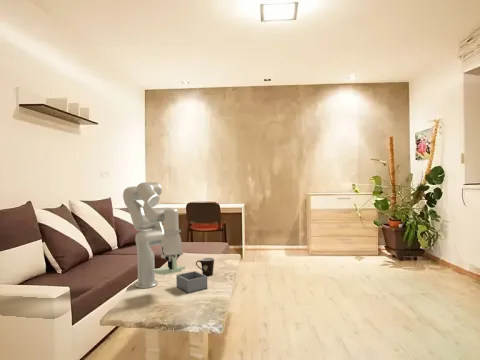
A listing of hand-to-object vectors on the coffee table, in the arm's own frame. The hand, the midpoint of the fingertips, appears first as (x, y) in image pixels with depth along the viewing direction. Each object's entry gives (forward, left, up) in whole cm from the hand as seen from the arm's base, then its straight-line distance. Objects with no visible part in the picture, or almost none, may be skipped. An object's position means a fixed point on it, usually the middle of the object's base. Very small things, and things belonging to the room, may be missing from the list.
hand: (172, 268), depth 170 cm
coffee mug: (-25, +35, -16) cm, 46 cm away
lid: (-4, 0, -3) cm, 5 cm away
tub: (-7, +15, -15) cm, 23 cm away
